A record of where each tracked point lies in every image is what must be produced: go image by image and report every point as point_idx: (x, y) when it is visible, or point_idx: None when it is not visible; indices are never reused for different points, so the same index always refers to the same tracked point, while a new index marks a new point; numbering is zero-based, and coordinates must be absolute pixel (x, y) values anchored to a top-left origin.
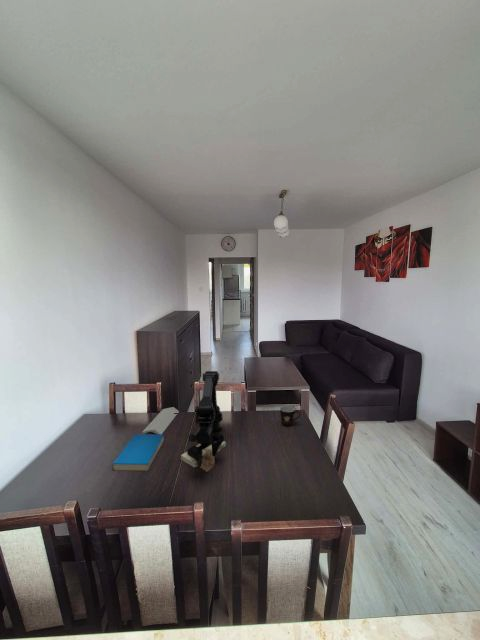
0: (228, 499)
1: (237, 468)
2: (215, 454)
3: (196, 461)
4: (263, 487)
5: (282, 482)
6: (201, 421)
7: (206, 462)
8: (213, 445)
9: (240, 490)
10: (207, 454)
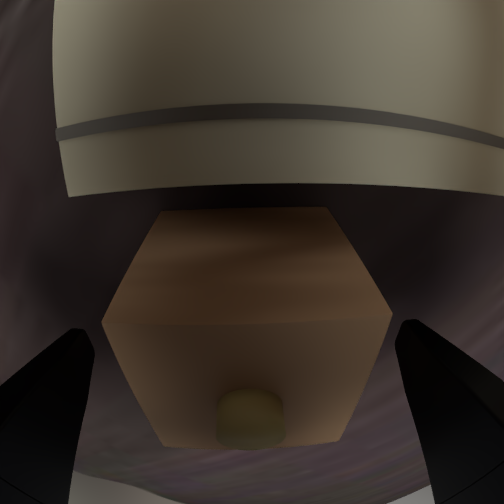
0: (153, 472)
1: (374, 423)
2: (415, 389)
3: (118, 174)
4: (304, 491)
5: (358, 490)
6: None
7: (163, 436)
8: (498, 487)
9: (230, 480)
10: (342, 362)
